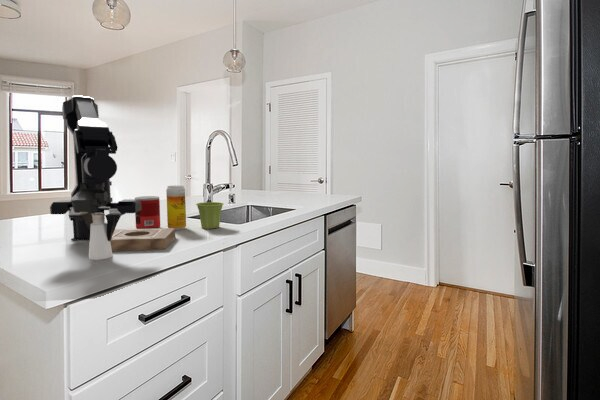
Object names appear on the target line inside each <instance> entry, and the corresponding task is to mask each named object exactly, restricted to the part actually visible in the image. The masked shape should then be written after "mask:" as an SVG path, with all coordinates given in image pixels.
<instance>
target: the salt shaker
mask: <svg viewBox="0 0 600 400" xmlns="http://www.w3.org/2000/svg"><path fill="white" fill-rule="evenodd" d="M105 215H106V214H105V212H104V213H93V214H92V219H93V223H91V225H90V242H89V241H88V242H89V246H88V259H89V261H90V260H91V261H100V260H108V259H110V258H113V257H114V256H113V255H114V254H113V251H112V249H111V243H110V241H108V239H107V221H106V220H105V219H106V216H105Z"/></svg>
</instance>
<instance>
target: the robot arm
mask: <svg viewBox="0 0 600 400" xmlns="http://www.w3.org/2000/svg"><path fill="white" fill-rule="evenodd" d="M98 106H99V105H98V104H97V103H96V102H95V98H93V97H91V96H83V95H72V96H71V97H70V99H67V100H65V101H64V102H62V107H61V108H62V110H61V111H62V119H63V120H65V126H66V127H67V129H68V130H69V132H70V133H71V134H72V137H73V139H72V140H73V153H74V165H75V167H74V170H75V181H76V185H75V187H74V189H73V190H72V191H71V194H70V199H62V200H61V199H60V200H57V201H56V200H55V201H53V202H52V203H51V204H50V206H49V210H50V211H49V212H50V215H65V214H67V213H68V219H69V220H70V221H72V229H73V237H72V238H71V239H70V241H88V242H90V225H91V223H93V219H92V214H93V213H104V214H105V211H108V213H107V214H105V216H104V217H105V219H106V223H107V239H108V241H111V238H112V236H113V233H114V230H115V229H116V227H117V225H118V222H119V220H120V219H121V216H124V215H125V214H135V213H136V212H138V211H140V210H142V208H141V202H140V201H139V200H138V199H135V198H134V199H132V198H130V199H122V200H118V202H113V197H112V196H111V186H112V185H113V184H112V181H111V178H113V177H114V176H115V175H116V173H117V170H118V165H117V163H116V161H115V159H114V158H113V157H111V156H110V154H112V155H113V154H114V155H116V154H117V151H118V144H117V141H116V136H115V135H114V134H113V131H112V130H110V128H109V125H107V123H106V122H103V121H101V120H100V119H99V107H98Z"/></svg>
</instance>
